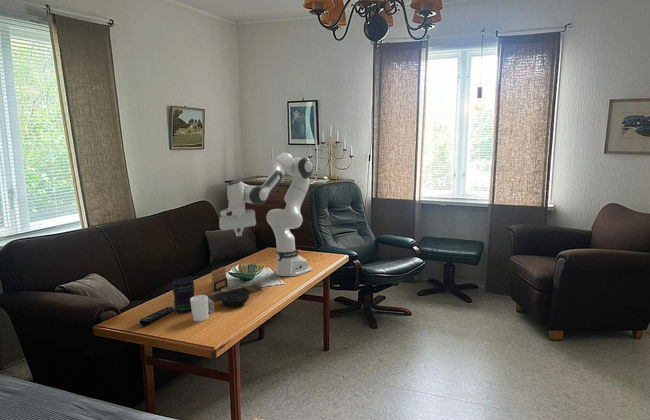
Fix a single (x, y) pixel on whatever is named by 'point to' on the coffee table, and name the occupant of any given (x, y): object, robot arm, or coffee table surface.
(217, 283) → the ammunition clip
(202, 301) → the white cup
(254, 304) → the coffee table surface
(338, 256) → the coffee table surface
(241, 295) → the oil lamp
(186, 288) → the storage jar
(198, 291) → the coffee table surface
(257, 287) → the bracket
